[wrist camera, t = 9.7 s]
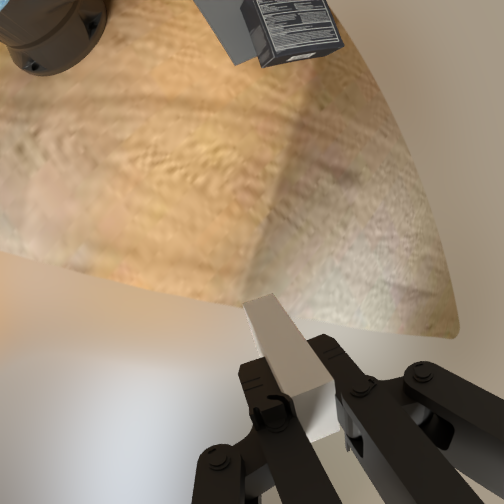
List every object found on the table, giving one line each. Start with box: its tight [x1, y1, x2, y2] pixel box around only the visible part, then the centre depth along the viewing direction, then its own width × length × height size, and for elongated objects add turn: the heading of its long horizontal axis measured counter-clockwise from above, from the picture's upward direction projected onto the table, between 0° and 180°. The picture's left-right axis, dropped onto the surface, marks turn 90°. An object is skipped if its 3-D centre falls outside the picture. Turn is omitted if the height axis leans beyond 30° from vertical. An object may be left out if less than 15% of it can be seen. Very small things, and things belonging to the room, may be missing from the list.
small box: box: [240, 0, 344, 68], centre depth 35 cm, size 11×6×10 cm
